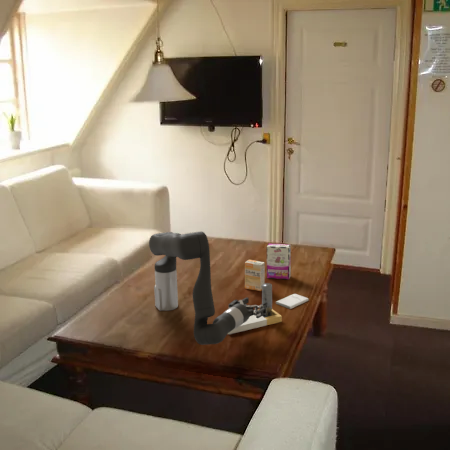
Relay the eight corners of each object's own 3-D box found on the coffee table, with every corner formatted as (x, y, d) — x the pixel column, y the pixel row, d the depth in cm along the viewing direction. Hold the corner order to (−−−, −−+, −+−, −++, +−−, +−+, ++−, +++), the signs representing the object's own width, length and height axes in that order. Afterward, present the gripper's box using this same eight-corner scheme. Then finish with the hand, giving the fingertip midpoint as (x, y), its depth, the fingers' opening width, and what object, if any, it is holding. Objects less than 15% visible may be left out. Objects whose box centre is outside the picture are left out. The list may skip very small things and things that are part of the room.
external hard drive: (275, 304, 253) (294, 296, 261) (290, 310, 247) (308, 301, 255) (275, 301, 252) (294, 293, 261) (290, 306, 247) (308, 298, 255)
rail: (228, 334, 226) (228, 328, 225) (217, 324, 234) (217, 318, 234) (281, 321, 235) (281, 316, 235) (269, 312, 244) (269, 306, 243)
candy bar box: (290, 276, 284) (291, 244, 279) (289, 279, 279) (289, 247, 274) (268, 274, 286) (268, 242, 282) (266, 278, 282) (266, 246, 277)
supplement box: (244, 288, 269) (244, 262, 266) (248, 285, 273) (248, 259, 270) (260, 291, 266) (260, 264, 262) (264, 288, 270) (264, 261, 266)
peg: (265, 321, 236) (265, 287, 231) (260, 318, 239) (260, 284, 235) (273, 319, 237) (273, 285, 233) (268, 316, 241) (268, 282, 236)
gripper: (250, 311, 211) (272, 296, 224) (218, 303, 219) (241, 289, 232) (250, 330, 213) (272, 314, 226) (219, 321, 221) (241, 306, 234)
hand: (256, 301), depth 229 cm, fingers open, 8 cm apart
